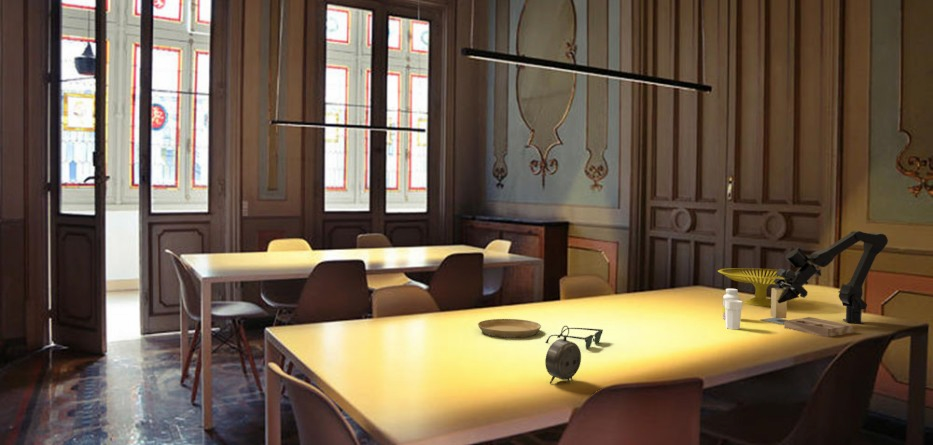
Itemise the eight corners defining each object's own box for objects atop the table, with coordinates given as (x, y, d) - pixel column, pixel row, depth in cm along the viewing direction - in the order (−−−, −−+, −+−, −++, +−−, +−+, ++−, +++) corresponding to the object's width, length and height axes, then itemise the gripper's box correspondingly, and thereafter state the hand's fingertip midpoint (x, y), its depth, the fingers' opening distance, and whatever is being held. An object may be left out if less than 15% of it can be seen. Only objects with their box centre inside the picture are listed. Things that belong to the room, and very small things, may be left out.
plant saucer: (507, 323, 272) (507, 315, 272) (553, 333, 255) (554, 324, 255) (464, 332, 256) (464, 323, 255) (511, 343, 238) (511, 334, 238)
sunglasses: (560, 336, 250) (560, 323, 250) (603, 342, 241) (604, 329, 241) (541, 345, 236) (541, 331, 236) (586, 352, 227) (587, 337, 227)
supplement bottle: (738, 318, 288) (739, 288, 287) (739, 321, 282) (740, 290, 281) (722, 317, 290) (723, 287, 290) (722, 319, 284) (723, 289, 283)
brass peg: (781, 316, 284) (782, 288, 283) (786, 318, 280) (787, 289, 279) (770, 316, 284) (771, 288, 283) (775, 318, 279) (776, 289, 279)
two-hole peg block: (809, 324, 277) (809, 317, 277) (852, 332, 261) (853, 325, 261) (784, 328, 268) (784, 320, 268) (827, 336, 253) (828, 329, 253)
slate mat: (775, 318, 289) (775, 317, 289) (796, 322, 280) (796, 321, 280) (760, 320, 284) (760, 319, 284) (781, 324, 275) (781, 323, 275)
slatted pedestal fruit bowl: (726, 309, 310) (727, 276, 310) (709, 295, 350) (710, 266, 349) (819, 312, 304) (820, 279, 303) (791, 298, 343) (792, 269, 343)
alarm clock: (570, 376, 196) (571, 321, 195) (584, 381, 191) (585, 324, 191) (543, 383, 189) (544, 326, 188) (557, 388, 185) (558, 329, 184)
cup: (741, 327, 269) (742, 300, 268) (741, 330, 263) (742, 302, 262) (724, 325, 271) (725, 299, 271) (723, 328, 266) (724, 301, 265)
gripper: (778, 259, 290) (752, 284, 290) (801, 264, 271) (773, 291, 272) (796, 277, 290) (770, 302, 291) (819, 284, 272) (791, 310, 272)
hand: (775, 301), depth 281 cm, fingers closed on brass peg, 4 cm apart
